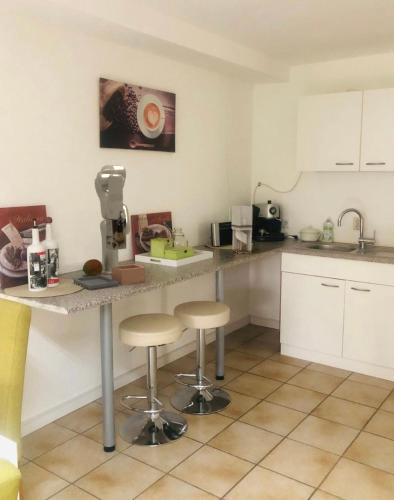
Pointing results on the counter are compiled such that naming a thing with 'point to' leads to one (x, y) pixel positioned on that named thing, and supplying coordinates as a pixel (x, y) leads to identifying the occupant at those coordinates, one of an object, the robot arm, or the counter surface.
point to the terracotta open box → (128, 274)
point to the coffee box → (115, 235)
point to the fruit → (93, 267)
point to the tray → (96, 282)
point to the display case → (242, 228)
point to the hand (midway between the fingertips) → (116, 231)
